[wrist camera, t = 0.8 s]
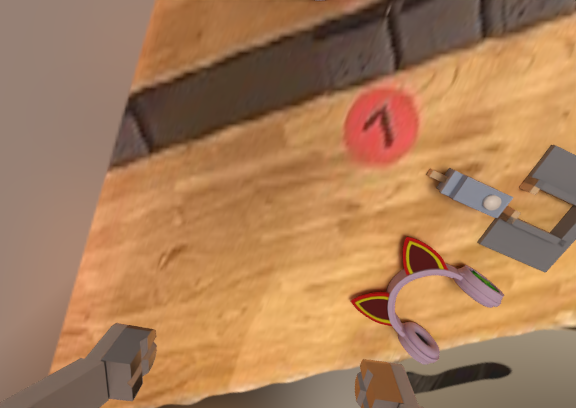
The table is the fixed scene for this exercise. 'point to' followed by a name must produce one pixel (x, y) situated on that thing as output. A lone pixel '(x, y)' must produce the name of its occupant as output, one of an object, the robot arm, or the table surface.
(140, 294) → the table surface
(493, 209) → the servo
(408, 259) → the headphones
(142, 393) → the table surface
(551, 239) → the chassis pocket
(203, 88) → the table surface
